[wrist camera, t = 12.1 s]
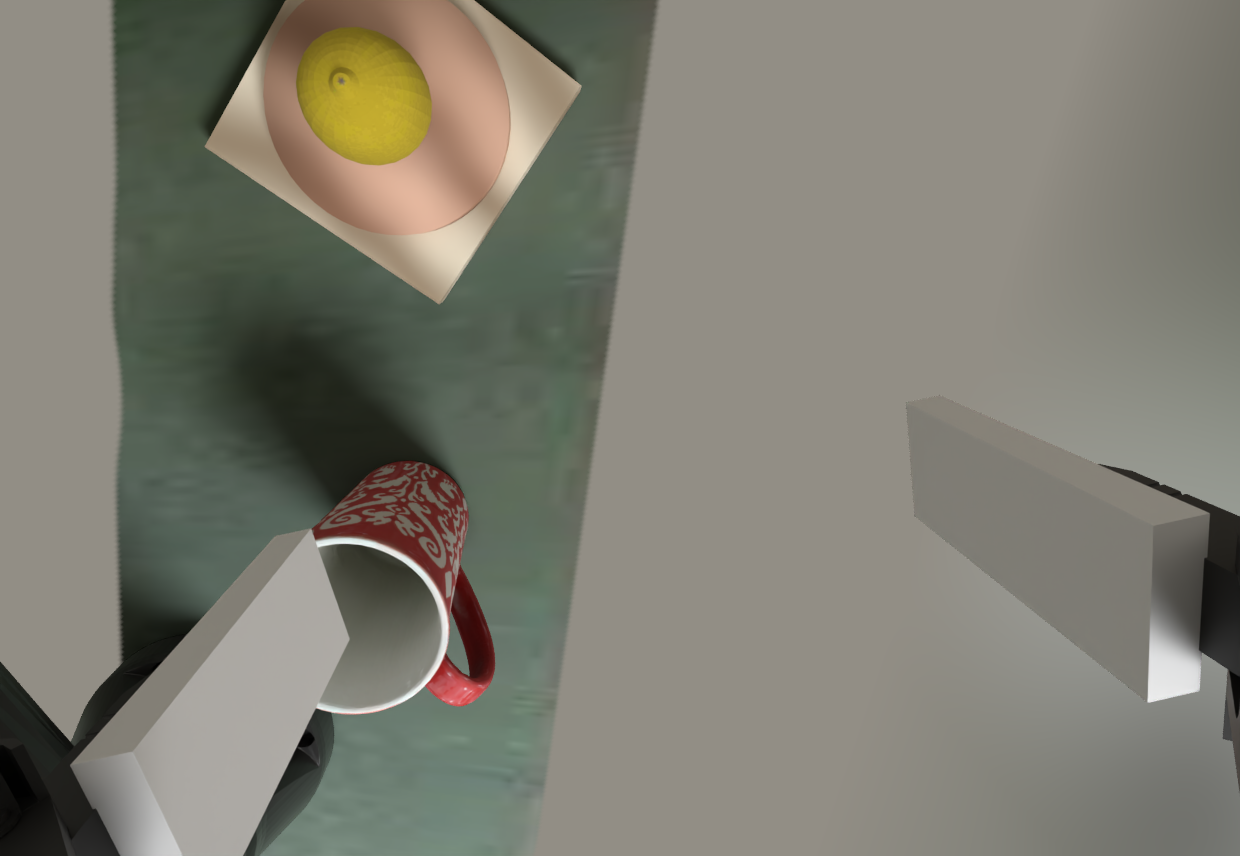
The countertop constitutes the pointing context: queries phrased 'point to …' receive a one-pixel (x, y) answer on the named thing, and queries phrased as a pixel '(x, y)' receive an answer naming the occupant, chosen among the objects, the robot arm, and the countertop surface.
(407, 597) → the mug
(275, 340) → the countertop surface
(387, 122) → the lemon
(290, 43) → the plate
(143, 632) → the countertop surface
